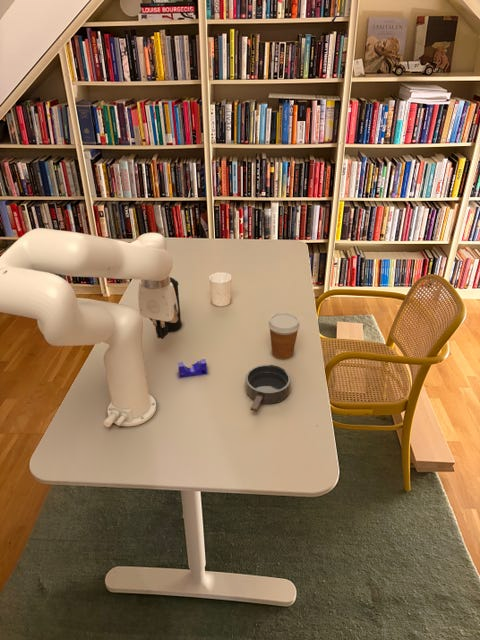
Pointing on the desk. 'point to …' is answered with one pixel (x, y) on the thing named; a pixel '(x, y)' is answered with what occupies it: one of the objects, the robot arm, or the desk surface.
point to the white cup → (220, 288)
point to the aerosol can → (176, 326)
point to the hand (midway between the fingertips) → (162, 335)
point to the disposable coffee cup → (283, 334)
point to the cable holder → (192, 369)
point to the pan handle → (257, 402)
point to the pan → (268, 383)
